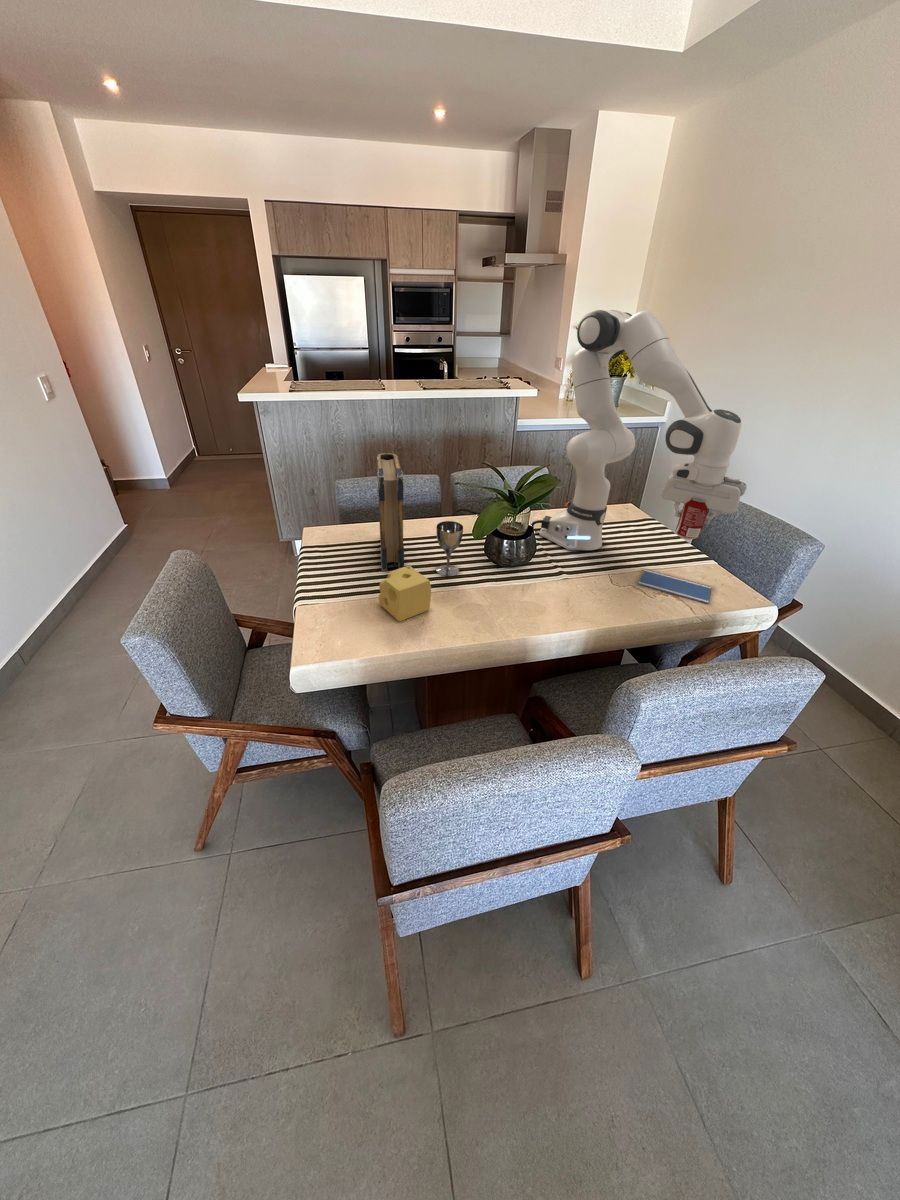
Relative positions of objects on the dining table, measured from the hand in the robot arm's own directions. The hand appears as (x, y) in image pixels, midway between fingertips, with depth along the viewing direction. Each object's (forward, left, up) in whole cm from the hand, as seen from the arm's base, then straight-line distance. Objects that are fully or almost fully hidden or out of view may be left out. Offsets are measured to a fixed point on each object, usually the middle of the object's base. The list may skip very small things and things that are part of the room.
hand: (691, 519), depth 144 cm
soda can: (0, 0, -5) cm, 5 cm away
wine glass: (-53, -46, -21) cm, 73 cm away
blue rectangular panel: (+2, -2, -21) cm, 21 cm away
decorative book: (-74, -51, -21) cm, 92 cm away
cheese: (-47, -70, -21) cm, 87 cm away
